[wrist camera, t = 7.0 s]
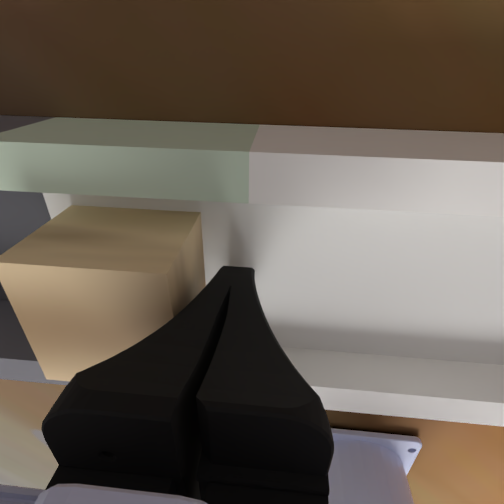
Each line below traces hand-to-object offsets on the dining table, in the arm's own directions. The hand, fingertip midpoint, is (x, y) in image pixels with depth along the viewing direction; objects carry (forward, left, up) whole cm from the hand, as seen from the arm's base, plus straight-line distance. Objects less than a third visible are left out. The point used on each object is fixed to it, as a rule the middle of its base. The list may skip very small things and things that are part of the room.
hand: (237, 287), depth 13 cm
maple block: (0, +4, -1) cm, 4 cm away
